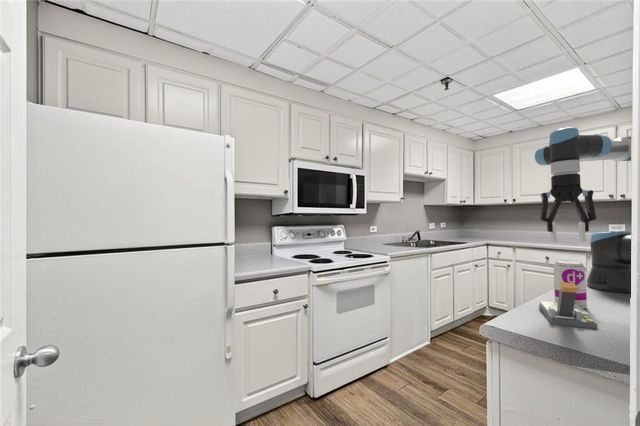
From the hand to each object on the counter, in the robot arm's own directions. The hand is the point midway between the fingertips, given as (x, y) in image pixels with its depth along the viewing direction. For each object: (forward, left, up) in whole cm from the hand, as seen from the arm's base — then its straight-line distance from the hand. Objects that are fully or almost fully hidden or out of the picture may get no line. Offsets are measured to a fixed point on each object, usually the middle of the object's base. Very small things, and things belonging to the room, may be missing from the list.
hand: (567, 241), depth 96 cm
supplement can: (0, 0, -22) cm, 22 cm away
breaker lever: (+7, +19, -20) cm, 28 cm away
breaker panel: (+5, +14, -22) cm, 26 cm away
